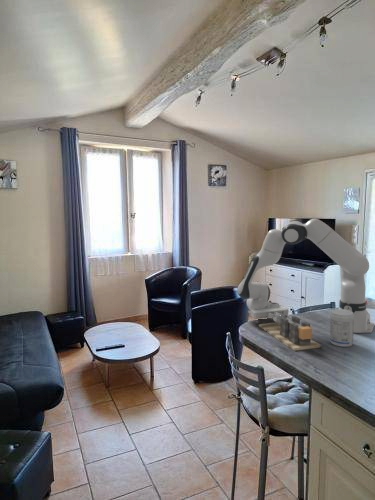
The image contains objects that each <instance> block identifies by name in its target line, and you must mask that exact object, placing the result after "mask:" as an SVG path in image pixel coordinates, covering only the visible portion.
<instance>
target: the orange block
mask: <svg viewBox="0 0 375 500" xmlns="http://www.w3.org/2000/svg"><path fill="white" fill-rule="evenodd" d="M312 332H313V328H312V327H311V326H310V327H309V326H306V327H299V338H300V339H302V340H304V339H311V340H313V337H312V336H313V335H312V334H313V333H312Z"/></svg>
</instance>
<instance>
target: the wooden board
mask: <svg viewBox="0 0 375 500" xmlns="http://www.w3.org/2000/svg"><path fill="white" fill-rule="evenodd" d="M291 320H293V321H295V322H297V323H299V324H300V325H302V326H304V327H306V326H309V327H310V328H311V323H309V322H307V321H305V320H304V321H303V320H302V321H301V318H299V317H297V316H295V315H293V316H291ZM300 321H301V323H300ZM258 327H259V328H261V329H262V330H263V329H264V330H263V331H265V332H266V331H267V332H266V333H268V334H269V335H270V336H272V337H273V338H274V339H276V340H278V341H280V343H282V344H283V345H285V346H287V347H288V348H289V349H291V350H292V351H303V350H311V349H317V348H321V344H320V343H318V342H317V341H315V340H314V339H304V340H302V339H300V338H299V335H298V325H297V324H295V323H290V330H289V329H288V319H286V318H284V317H283V318H280V325H278V324H277V322H269V323H259V324H258Z"/></svg>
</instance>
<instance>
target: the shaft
mask: <svg viewBox="0 0 375 500" xmlns="http://www.w3.org/2000/svg"><path fill="white" fill-rule="evenodd" d="M288 316H289V315H288ZM288 316H287V315H285V314H280V313H276V314H273V318H272V319H273V321H274V323H276V322H277V324H278V325H280V318H283V317H284V318H286V319H288V329H289V330H290V323H295V324H297V325H298V335H299V327H304V326H302V325H301V323H300V324H299V323H297V322H295V321H293V320H292V318H289V317H288Z"/></svg>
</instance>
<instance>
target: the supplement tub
mask: <svg viewBox="0 0 375 500" xmlns="http://www.w3.org/2000/svg"><path fill="white" fill-rule="evenodd" d="M329 314H330V315H329V316H330V317H329V319H330V320H329V342H330V343H331V344H332V345H334V346H336V347H343V348H349V347H352V346H353V343H354V332H353V325H354V316H353V312H352V311H349V310H345V309H339V308H335V309H331V310H330V313H329Z"/></svg>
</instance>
